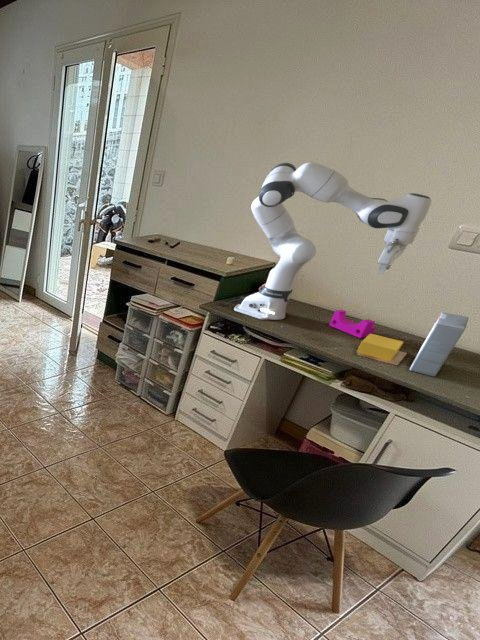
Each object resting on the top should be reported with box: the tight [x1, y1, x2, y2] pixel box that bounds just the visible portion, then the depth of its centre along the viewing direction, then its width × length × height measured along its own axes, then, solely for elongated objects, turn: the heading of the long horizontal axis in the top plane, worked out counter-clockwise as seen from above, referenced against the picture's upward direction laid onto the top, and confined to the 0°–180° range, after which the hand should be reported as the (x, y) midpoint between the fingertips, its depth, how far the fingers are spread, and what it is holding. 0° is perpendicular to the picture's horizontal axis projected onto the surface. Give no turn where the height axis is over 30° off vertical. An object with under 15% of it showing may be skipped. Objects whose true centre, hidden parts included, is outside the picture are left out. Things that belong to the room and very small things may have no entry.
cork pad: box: [355, 350, 408, 367], centre depth 175 cm, size 13×16×1 cm
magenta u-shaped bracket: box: [328, 309, 377, 339], centre depth 193 cm, size 15×6×8 cm, turn 12°
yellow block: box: [356, 333, 404, 361], centre depth 175 cm, size 5×12×11 cm
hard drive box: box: [409, 311, 469, 377], centre depth 160 cm, size 16×8×20 cm, turn 131°
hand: (383, 271), depth 177 cm, fingers open, 8 cm apart
